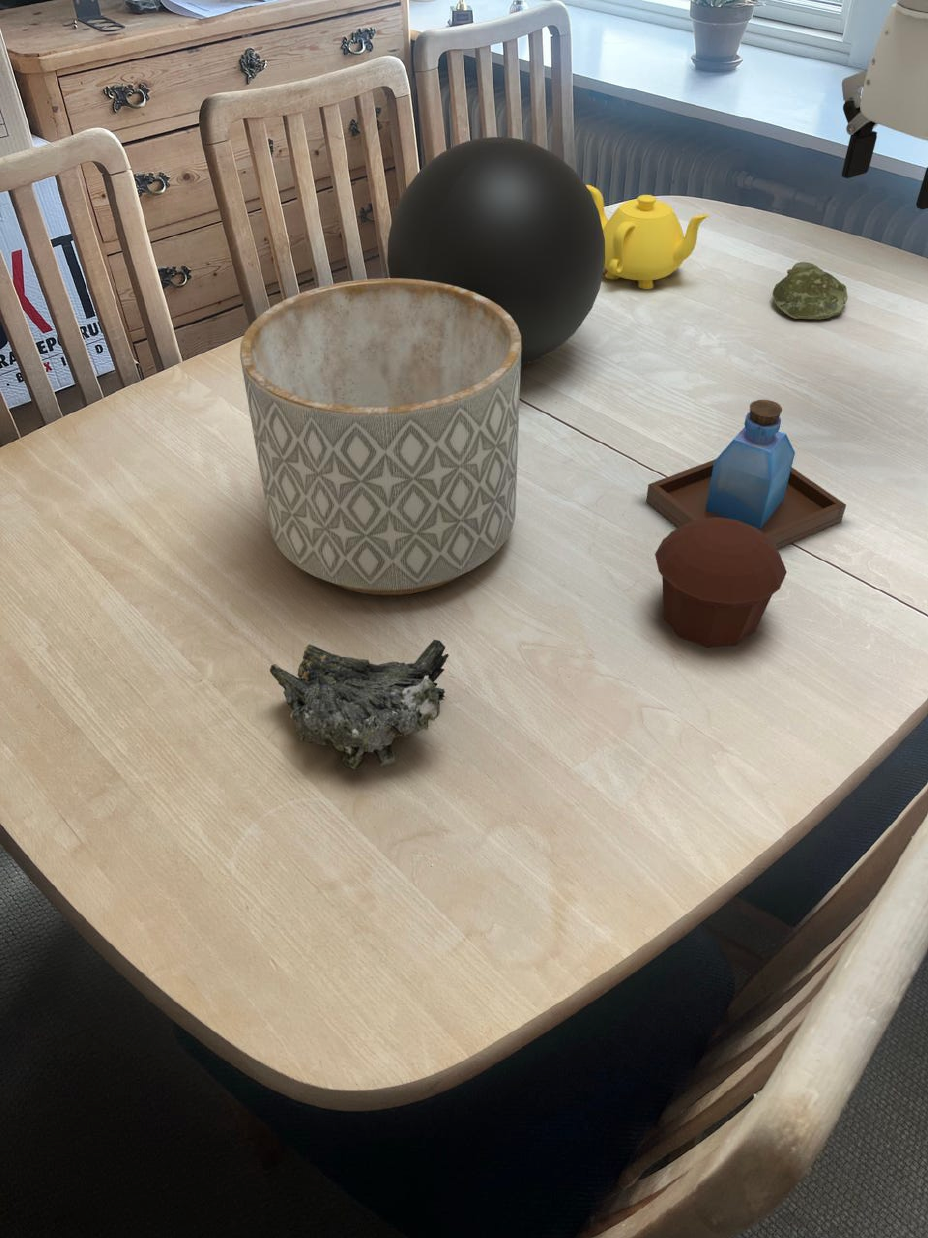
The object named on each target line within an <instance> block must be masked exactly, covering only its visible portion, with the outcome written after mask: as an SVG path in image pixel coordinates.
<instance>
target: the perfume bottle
mask: <svg viewBox="0 0 928 1238" xmlns="http://www.w3.org/2000/svg"><path fill="white" fill-rule="evenodd" d="M782 413H783V407H782V406H781V404H779V403H778V402H775V401H774V400H770V399H756V400H753V401H752V402H751V403H750V404H749V412H748V413H747V414H746V416H745V420H744V427H743V428H742V429H741V430H740V431H739V432H738V433H737V435H736V436H735V437H734V438H733V439H732V440H731V441H730V442H729V444H728V445H727V446H726V447H725V448H724V449H723V451H721V453H720V454H719V456H717V458H715V459H716V460H715V459H714V460H715V462H714V467H713V472H712V477H711V482H710V487H709V493H708V498H707V503H706V508H705V510H707V511H710V512H712V513H715V514H718V515H720V516H723V517H726V518H728V519H734V520H738V521H741V522H743V523H746V524H748V525H751V526H753V527H755V528H757V529H758V530H760V529H761V528H762V527H763V525H764V524H765V523H766V522H767V520H768V519H769V518H770V517H771V515H772V514H773V513H774V512H775V510H776V509H777V508H778V506H779V505H780V504H781V503H782V501H783V498H784V494H785V490H786V486H787V483H788V479H789V475H790V471H791V467H792V468H793V464H794V460H795V455H796V452H795V450H794V447H793V446H792V443H791V441H790V439H789V437H788V435H787V433H785V432H783V431H780V429H781V425H782V418H781V417H780V416H781V414H782Z"/></svg>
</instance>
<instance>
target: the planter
mask: <svg viewBox="0 0 928 1238" xmlns="http://www.w3.org/2000/svg"><path fill="white" fill-rule="evenodd" d="M239 358H240V364H241V369H242V376H243V381H244V387H245V393H246V398H247V404H248V410H249V416H250V422H251V427H252V433H253V438H254V445H255V449H256V450H255V451H256V456H257V457H256V458H257V462H258V469H259V475H260V479H261V485H262V490H263V496H264V497H263V498H264V503H265V508H266V514H267V521H268V525H269V529H270V534H271V537H272V539H273V541H274V543H275V544H276V546H277V548H278V550H279V551H280V552H281V553H282V554H283V555H284V557H286V559H287V560H289V561H290V562H291V563H292V564H294V565H295V566H296V567H297V568H298V569H300V570H302V571H304V572H306V573H308V574H309V575H311V576H313V577H314V578H317V579H319V580H322V581H326V582H327V583H332V584H333V585H335V586H337V587H340V588H343V589H345V590H348V591H353V592H358V593H362V594H369V595H376V596H377V595H378V596H396V595H397V596H398V595H399V596H400V595H408V594H414V593H420V592H425V591H429V590H432V589H436V588H438V587H441V586H444V585H446V584H448V583H451V582H452V581H454V580H457V579H458V578H460V577H461V576H463V575H464V574H466V573H468V572H471V571H472V570H474V569H475V568H477V567H478V566H481V565H482V564H483V563H485V562H486V561H488V560H489V559H490V558H491V557H492V556H494V555H495V554H496V553H497V552H498V551H499V550H500V548H501V547H502V546H503V545H504V543H505V542H506V541H507V539H508V537H509V536H510V534H511V532H512V530H513V528H514V524H515V519H516V508H517V483H518V482H517V481H518V453H519V427H520V426H519V423H520V397H521V396H520V395H521V371H522V366H521V334H520V332H519V329H518V326H517V324H516V323H515V321H514V320H513V319H512V317H511V316H510V315H509V314H508V313H507V312H506V311H505V310H504V309H503V308H501V307H500V306H499V305H497V304H496V303H494V302H493V301H491V300H489V299H488V298H485V297H483V296H481V295H479V294H477V293H475V292H472V291H469V290H466V289H463V288H460V287H457V286H452V285H448V284H444V283H439V282H432V281H426V280H417V279H404V278H390V277H388V278H387V277H385V278H384V277H381V278H364V279H356V280H355V279H354V280H349V281H341V282H337V283H331V284H326V285H322V286H319V287H316V288H312V289H308V290H306V291H303V292H300V293H298V294H295V295H293V296H290V297H288V298H286V299H284V300H282V301H280V302H278V303H276V304H274V305H273V306H271V307H270V308H268V309H267V310H266V311H264V312H262V313H261V314H260V315H259V316H258V317H257V318H256V319H255V320H253V321H252V322H251V324H249V326H248V328H247V329H246V330H245V332H244V335H243V337H242V339H241V342H240V349H239Z"/></svg>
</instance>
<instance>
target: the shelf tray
mask: <svg viewBox="0 0 928 1238" xmlns="http://www.w3.org/2000/svg"><path fill="white" fill-rule="evenodd" d="M716 459H717V458H715V459H712V460H709V461H707V462H704V463H701V464H698V465H696V466H692V467H691V468H688V469H686V470H683V471H680V472H677V473H675V474H672V475H669V476H667V477H663V478H662V479H659V480H656V481H654V482H651V483H648V486H647V492H646V498H645V501H646V503H647V504H649V505H650V506H651V507H652V508H653V509H654V510H656V511H657V512H658V513H659V514H661V516H663V517H664V518H666V520H668V521H669V522H670V523H671V524H673V525H674V526H675V527H677V528H679V527H681V526H683V525H685V524H687V523H689V522H691V521H693V520H698V519H706V518H714V517H719V518H726V517H723V516H720V515H718V514H715V513H712V512H710V511H707V510H705V508H706V503H707V498H708V493H709V487H710V482H711V477H712V472H713V467H714V462H715V460H716ZM846 507H847V504H846V503H845V502H843V501H841V500H840V499H839V498H838V497H836V496H834V495H833V494H832V493H830V492H829V491H827V490H825V488H823V487H821V486H820V485H818V484H817V483H816V482H814V481H813V480H811V479H810V478H808V477H807V476H805V475H804V474H802V472H800V471H798V470H796V469H795V468H794V467H793V466H792V467H791V471H790V475H789V479H788V483H787V486H786V490H785V494H784V498H783V501H782V503H781V504H780V505H779V506H778V508H777V509H776V510H775V512H774V513H773V514H772V515H771V517H770V518H769V519H768V520H767V522H766V523H765V524H764V525H763V527H762V528H761V529H760V531H761V532H762V533H763V534H765V535H766V536H767V537H768V538H769V539H771V540H772V541H773V543H774V544H775V545H776V547H777V550H780V549H782V548H784V547H786V546H789V545H791V544H794V543H796V542H798V541H800V540H802V539H805V538H807V537H810V536H812V535H814V534H816V533H819V532H821V531H824V530H826V529H828V528H831V527H833V526H835V525H838V524H839V523H842V521H843V517H844V514H845V511H846ZM726 519H728V518H726Z"/></svg>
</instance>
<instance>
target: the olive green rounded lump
mask: <svg viewBox="0 0 928 1238" xmlns="http://www.w3.org/2000/svg"><path fill="white" fill-rule="evenodd" d="M772 297H773V300H774V303H775V304H776V305H777V308H778V309H780V310H781V312H783V313H784V314H785V315H787V316H789V317H790V318H792V319H794V320H825V319H826V320H827V319H830V318H832V317H834V316H837V315H839V314H841V312H842V311H843V310H844V308H845V305H846V303H847V302H848V297H849V296H848V292H847V286H846V285H845V284H844V283H842V282H841V281H840V280H838V278H837V277H835V276H834V275H832V274H831V273H829V272H827V271H824V270H823V269H822V268H820V267H819V266H818V265H815V264H814V263H811V262H807V261H800V262H796V263H795V264H794V265H793V266H792V267H791V268H790V269H787V270H786V276H785V277H783V278H782V279H781V280H780V281H779V282H777V283H776V284H775V286H774V288H773V289H772Z"/></svg>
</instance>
